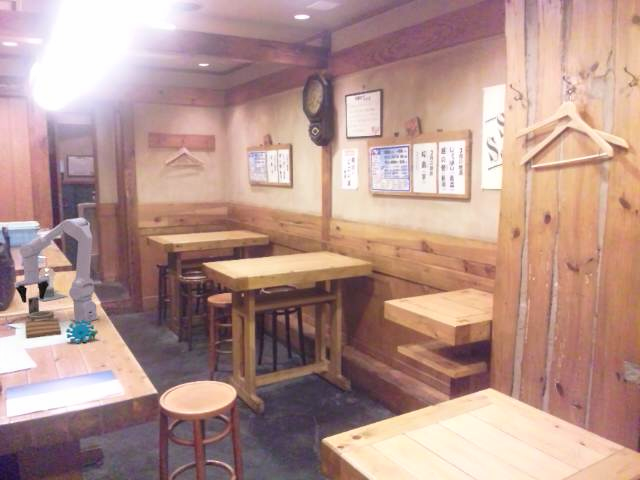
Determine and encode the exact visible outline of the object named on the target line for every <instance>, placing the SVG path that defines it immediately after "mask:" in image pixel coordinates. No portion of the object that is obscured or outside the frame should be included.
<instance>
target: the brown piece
mask: <svg viewBox="0 0 640 480" xmlns="http://www.w3.org/2000/svg"><path fill="white" fill-rule="evenodd" d="M54 314H55V313H54V311H51V310H39V312H34V313H31V314H29V313H28V320H27V321H25V335H26V337H25V338H26V339H30V338H31V339H32V338H33V339H34V338H40V336H41V337H47V336H46V335H49V336H55V335H54V334H56V335H61V334H62V330H61V326H60V323H59V322H60V321H59V319H58V317H54Z"/></svg>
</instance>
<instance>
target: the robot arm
mask: <svg viewBox="0 0 640 480" xmlns="http://www.w3.org/2000/svg"><path fill="white" fill-rule="evenodd" d="M90 225H91V223H90V222H89V221H88V220H87V219H86V218H85V217H77V218H68V219H67V218H66V219H64V220H63V221H61V222H59V224H57V225H56V226H55V227H54V228H53V229H51V230H50V231H48V232H47V233H39V234H37V235H36V237H35V238H33V239H30V240H29V241H28V243H23V244H21V246H20V247H19V253H20V255H21V256H22V259H23V262H22V263H23V276H24V280H20V281H16V282H13V287H14V288H15V290H16V292H18V294H19V296H20V298H21V301H22V303H23V304H24V303H27V291H28V287H26V286H32V285H37V287H38V291H39V292H38V294H39V295H38V296H39V297H40V299H44V295H45V291H46V289H47V287H48V285H49V284H48V283H47V282H49V278H40V277H39V272H40V269H39V256H40V254H41V251H43V250H44V249H46V248H48V247H49V246H51V244H52V240H54V239H56V238H57V237H59V236H61V235H63V234H66V235H68V236H70V237H71V238H73V239H75V240H76V241H77V255H76V266H75V267H76V271H75V278H74V280H73V281H72V283H71V285H70V286H71V287H70V289H69V292H68V294H69V297H70V298H71V299H72V301H73V317H71V318H69V320H72V321H74V322H75V321H78V322H79V323H81V320H85V323H87V322H88V321H90V322H91V321H95V320H99V317H97V312H98V311H97V304H96V303H95V302H94V301H93V299H92V298H93V295H94V293H95V290H96V289H95V286H94V279H92V278H91V277H90V276H91V263H92V251H93V250H92V249H93V248H92V247H93V235H92V232H91V229H90V227H91V226H90Z"/></svg>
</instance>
